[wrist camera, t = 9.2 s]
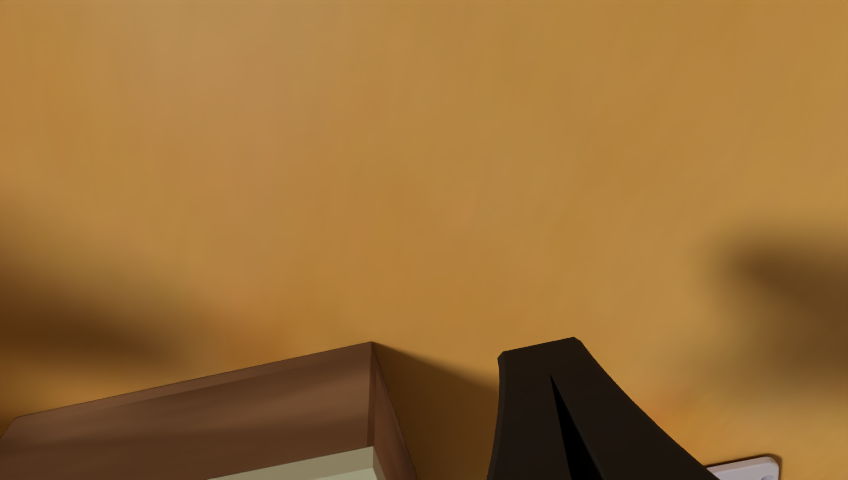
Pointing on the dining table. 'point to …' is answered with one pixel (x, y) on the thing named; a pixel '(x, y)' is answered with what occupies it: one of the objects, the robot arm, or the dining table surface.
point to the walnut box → (217, 425)
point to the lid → (321, 468)
